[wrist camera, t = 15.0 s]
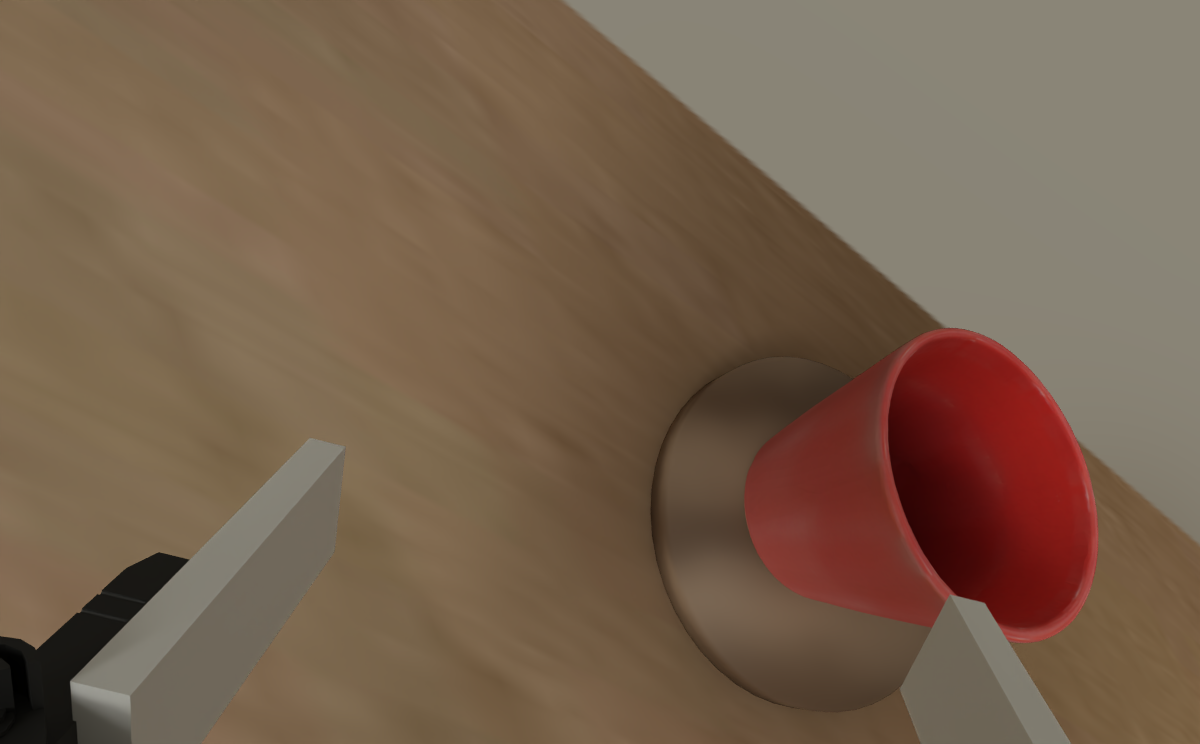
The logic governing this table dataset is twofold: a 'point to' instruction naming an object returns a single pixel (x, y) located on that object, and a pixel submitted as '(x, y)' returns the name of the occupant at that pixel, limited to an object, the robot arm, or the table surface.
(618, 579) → the table surface
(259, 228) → the table surface
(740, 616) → the brown plate
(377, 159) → the table surface
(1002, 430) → the flower pot
